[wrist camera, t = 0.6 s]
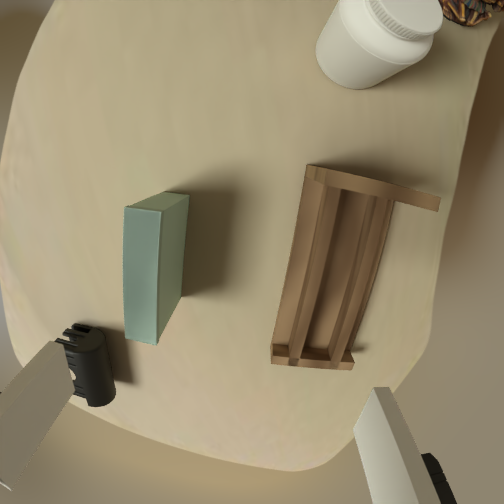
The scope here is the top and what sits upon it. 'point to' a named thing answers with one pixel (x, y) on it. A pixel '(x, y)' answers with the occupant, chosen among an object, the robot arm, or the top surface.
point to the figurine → (469, 10)
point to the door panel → (153, 263)
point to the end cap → (89, 364)
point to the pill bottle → (376, 39)
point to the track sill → (334, 265)
